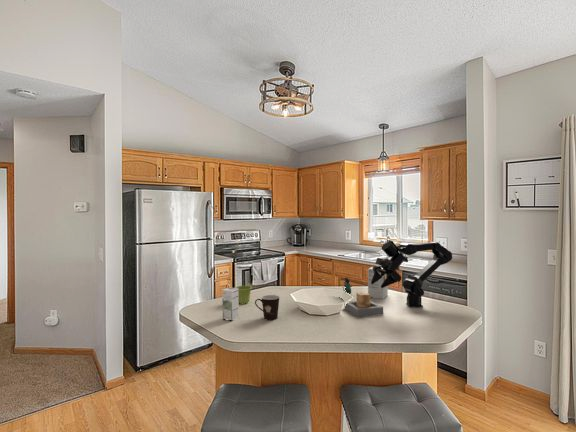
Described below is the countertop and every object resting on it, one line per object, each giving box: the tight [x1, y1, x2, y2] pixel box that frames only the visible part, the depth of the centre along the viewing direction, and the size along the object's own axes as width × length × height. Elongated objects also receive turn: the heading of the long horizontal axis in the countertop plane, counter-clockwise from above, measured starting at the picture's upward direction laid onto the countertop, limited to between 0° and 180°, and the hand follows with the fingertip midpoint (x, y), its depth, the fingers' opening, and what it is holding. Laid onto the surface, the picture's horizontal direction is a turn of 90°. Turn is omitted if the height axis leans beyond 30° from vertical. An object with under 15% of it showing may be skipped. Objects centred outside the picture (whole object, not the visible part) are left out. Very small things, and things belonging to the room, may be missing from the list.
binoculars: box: [343, 277, 353, 295], centre depth 193 cm, size 9×11×10 cm
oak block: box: [355, 291, 371, 308], centre depth 164 cm, size 5×5×9 cm
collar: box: [344, 300, 384, 318], centre depth 164 cm, size 14×14×4 cm
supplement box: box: [367, 266, 389, 300], centre depth 192 cm, size 10×9×17 cm
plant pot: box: [234, 285, 253, 304], centre depth 182 cm, size 9×9×9 cm
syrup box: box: [221, 287, 240, 321], centre depth 154 cm, size 6×6×14 cm
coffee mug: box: [254, 294, 280, 321], centre depth 156 cm, size 12×9×10 cm
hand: (376, 285), depth 166 cm, fingers open, 9 cm apart
